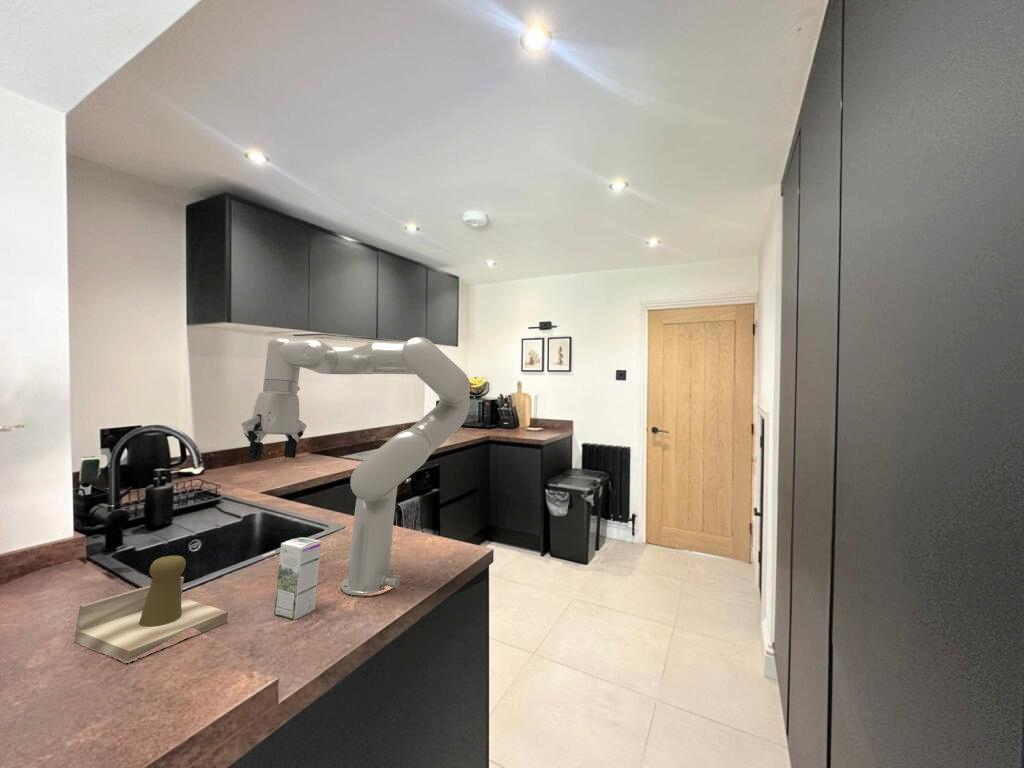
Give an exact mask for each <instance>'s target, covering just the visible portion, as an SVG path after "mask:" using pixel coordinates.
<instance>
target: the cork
mask: <svg viewBox="0 0 1024 768" xmlns="http://www.w3.org/2000/svg"><path fill="white" fill-rule="evenodd" d="M186 564H187V562H186V559H185V558H184V557H183V556H181V555H168V556H162V557H159V558H156V559H155V560H153V562H152V563H151V565H150V568H149V576H151V578H152V579H151V582H150V585H149V586H150V588H149V592H148V595H147V598H146V602H145V605H144V608H143V612H142V615H141V618H140V622H139V624H140V625H141V626H144V627H155V626H161V625H165V624H169V623H171V622H174V621H176V620H178V619H179V618H180V617H181V615H182V613H181V598H182V596H181V577H182V576H181V575H182V574H183V573H184V570H185V568H186Z"/></svg>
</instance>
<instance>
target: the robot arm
mask: <svg viewBox="0 0 1024 768" xmlns="http://www.w3.org/2000/svg"><path fill="white" fill-rule="evenodd" d="M301 368H303V369H307V370H309V371H313V372H315V373H317V374H322V375H323V374H324V375H414V376H415V375H416V376H417V377H418V378H419V379H420V380H421V381H422V382H424V383H425V385H427V386H428V387H429V388H430V389H431V390H432V391H433V392H434V393H435V394H436V395H437V396H438V399H439V400H438V403H437V404H436V405H435V407H434V408H433V409H432V410H430V411H429V412H428V413H426V414H425V415H424V416H423V417H422V418H421V419H420V420H418V421H417V422H415V424H413V425H412V426H411V427H409V428H408V429H405V430H401V431H399V432H398V433H396V434H394V436H392V437H391V438H390V439H388V440H387V441H386V442H385V443H383V445H381V446H380V447H379V448H377V450H375V451H374V452H373V453H371V454H370V455H369V456H368V457H366V458H365V459H364V460H363V461H361V462H360V463H359V464H357V466H356V467H355V468H354V470H353V471H352V473H351V475H350V476H351V477H350V481H349V482H350V489H351V491H352V493H353V494H354V496H355V497H356V500H355V508H354V515H353V516H354V517H353V523H352V524H353V526H352V536H351V546H350V555H349V556H350V557H349V566H348V567H349V568H348V576H347V577H346V578H344V579H343V580H342V581H341V583H340V590H341V589H342V590H343V591H344V592H346V593H348V594H353V595H362V594H370V593H375V592H378V591H381V590H384V589H385V588H384V587H385V586H387V585H388V586H390V587H393V588H395V589H397V588H398V587H400V584H401V583H400V582H401V580H402V576H401V575H398V574H396V575H395V574H394V567H393V566H391V555H392V545H393V543H392V542H393V533H394V522H395V510H396V502H397V500H396V499H397V494H398V486H399V485H401V484H402V483H403V482H404V481H405V480H407V479H408V478H410V476H411V475H412V474H414V473H415V472H416V471H417V470H418V469H419V468H421V466H423V465H424V464H425V463H426V461H427V460H428V458H429V457H430V456H431V454H432V453H434V452H435V451H436V450H437V449H438V448H439V447H441V446H442V445H443V444H444V443H445V442H446V441H448V439H450V437H452V436H453V435H454V434H455V433H456V432H457V431H458V430H459V429H460V428H461V427H462V425H464V423H465V420H467V417H468V414H469V410H470V407H471V406H470V405H471V400H470V390H471V382H470V379H469V376H468V375H467V374H466V373H465V372H464V370H462V368H461V367H459V365H458V364H456V362H454V361H453V360H452V359H451V358H450V357H448V356H447V355H446V353H444V352H443V351H442V350H441V349H440V348H439V347H438V346H436V344H435V343H434V342H433V341H432V340H430V339H428V338H426V337H421V336H415V337H412V338H409V339H407V341H387V340H385V341H384V340H375V341H374V340H373V341H370V342H368V343H366V344H364V345H361V346H356V347H355V346H354V347H342V346H341V347H339V346H337V347H336V346H329V345H328V344H326V343H324V342H323V341H321V340H319V339H315V338H314V339H311V338H309V339H308V338H307V339H289V338H281V337H278V338H277V337H276V338H272V339H270V340H269V341H268V344H267V352H266V360H265V367H264V377H263V379H264V380H263V386H262V392H258V395H257V398H256V400H255V404H254V408H253V412H252V417H251V418H250V419H247V420H245V421H244V422H242V423H241V427H242V430H243V435H244V436H245V437H246V438H247V441H248V442H249V450H248V451H249V452H248V459H249V460H252V461H253V460H255V461H260V460H261V459H262V455H263V447H264V444H263V442H262V440H263V439H264V438H265V437H266V436H267V435H284V436H285V437H286V441H285V444H284V451H283V452H284V453H283V456H284V458H290V459H291V458H293V459H294V458H296V455H297V444H298V443H299V441H300V439H301V438H302V436H303V435H304V432H305V430H306V428H307V424H306V423H305V422H303V421H302V420H301V419H300V398H299V395H298V392H299V391H300V390H301V389H300V386H299V379H300V371H301ZM347 578H348V579H347ZM382 587H383V588H382ZM344 592H343V593H344ZM346 593H345V594H346ZM348 594H347V595H348Z"/></svg>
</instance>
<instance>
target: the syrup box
mask: <svg viewBox="0 0 1024 768" xmlns="http://www.w3.org/2000/svg"><path fill="white" fill-rule="evenodd" d="M321 549H322V540H318V539H313V538H308V537H300V536H299V537H296V538H291V539H289V540H286V541H284V542H281V543H280V552H279V561H278V570H277V571H278V572H277V580H276V581H277V582H276V591H275V599H274V600H275V601H274V608H273V609H274V610H273V615H275V616H279V617H282V618H286V619H289V620H293V621H295V620H298V619H299V618H302V617H303V616H305V615H307V614H310V613H311V612H313V611H315V609H316V603H317V602H316V601H317V589H318V578H319V567H320V559H321V551H322V550H321Z"/></svg>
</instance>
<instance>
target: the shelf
mask: <svg viewBox="0 0 1024 768" xmlns="http://www.w3.org/2000/svg"><path fill="white" fill-rule="evenodd" d="M184 579H185V577H184V576H181V613H182V615H181V617H180V618H179V619H178V620H176V621H174V622H171V623H169V624H165V625H161V626H155V627H144V626H141V625H140V624H139V622H140V618H141V615H142V612H143V608H144V605H145V602H146V598H147V595H148V592H149V588H150V585H145V586H142V587H139V588H135V589H133V590H130V591H125V592H123V593H119V594H115V595H112V596H108V597H106V598H101V599H97V600H95V601H91V602H87V603H84V604H83V603H82V604H80V605H79V610H78V614H77V621H76V627H75V633H74V634H75V635H74V639H73V640H74V641H73V642H74V643H75V644H77V645H80V646H82V647H84V646H86V647H85V648H87V647H89V648H92V649H95V650H97V651H100V652H102V653H106V654H109V655H112V656H115V657H118V658H121V659H124V660H127V661H129V660H131V659H133V658H135V657H137V656H139V655H141V654H143V653H145V652H147V651H149V650H151V649H153V648H155V647H157V646H159V645H161V644H162V643H164V642H166V641H168V640H169V639H171V638H173V637H175V636H176V635H178V634H180V633H181V632H183V631H185V630H187V629H189V628H194V629H196V630H198V631H200V632H202V633H201V634H204V633H205V632H208V631H210V630H213V629H215V628H217V627H219V626H222V625H224V624H227V623H228V617H229V611H227V610H223V609H221V608H217V607H214V606H211V605H207V604H204V603H200V602H197V601H194V600H191V599H188V598H183V597H182V594H183V588H184V581H185V580H184ZM89 648H88V649H89Z"/></svg>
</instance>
